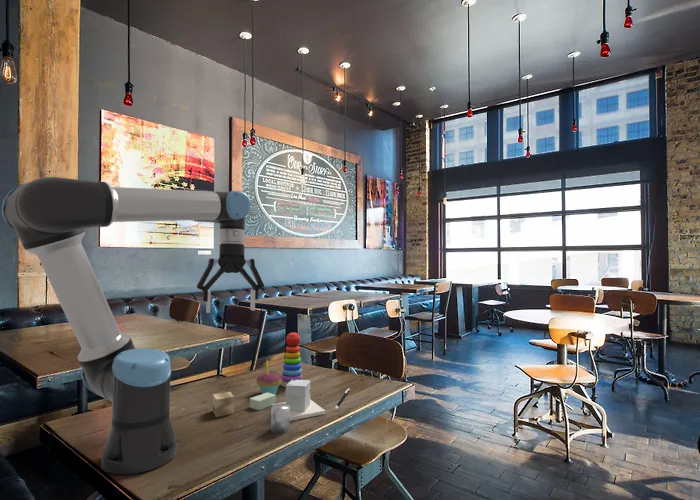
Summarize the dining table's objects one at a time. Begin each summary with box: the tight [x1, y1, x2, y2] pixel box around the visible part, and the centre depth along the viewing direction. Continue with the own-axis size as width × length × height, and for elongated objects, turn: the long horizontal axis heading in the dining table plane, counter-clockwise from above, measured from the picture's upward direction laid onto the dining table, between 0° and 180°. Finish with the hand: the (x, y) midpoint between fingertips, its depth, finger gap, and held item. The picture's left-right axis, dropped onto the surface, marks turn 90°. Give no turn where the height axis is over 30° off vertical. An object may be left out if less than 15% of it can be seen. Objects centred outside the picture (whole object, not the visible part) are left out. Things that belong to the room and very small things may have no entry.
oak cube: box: [212, 391, 235, 418], centre depth 118 cm, size 5×5×5 cm
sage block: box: [249, 392, 277, 411], centre depth 124 cm, size 7×4×3 cm, turn 144°
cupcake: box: [256, 360, 282, 395], centre depth 135 cm, size 9×8×12 cm
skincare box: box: [285, 379, 311, 411], centre depth 120 cm, size 6×6×7 cm
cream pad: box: [272, 398, 326, 422], centre depth 120 cm, size 12×12×1 cm
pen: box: [334, 388, 351, 410], centre depth 131 cm, size 1×19×1 cm, turn 167°
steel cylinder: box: [270, 402, 291, 434], centre depth 107 cm, size 5×5×6 cm
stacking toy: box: [280, 332, 303, 388], centre depth 145 cm, size 8×8×19 cm
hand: (230, 311), depth 125 cm, fingers open, 13 cm apart
